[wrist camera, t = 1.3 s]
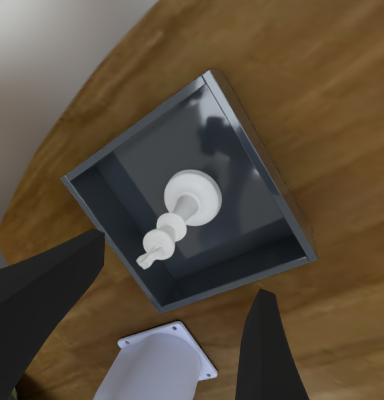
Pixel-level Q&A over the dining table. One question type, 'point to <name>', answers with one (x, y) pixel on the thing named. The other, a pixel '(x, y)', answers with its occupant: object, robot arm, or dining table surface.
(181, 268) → the square open tray
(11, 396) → the stone basin
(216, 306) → the dining table surface
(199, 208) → the chess piece
